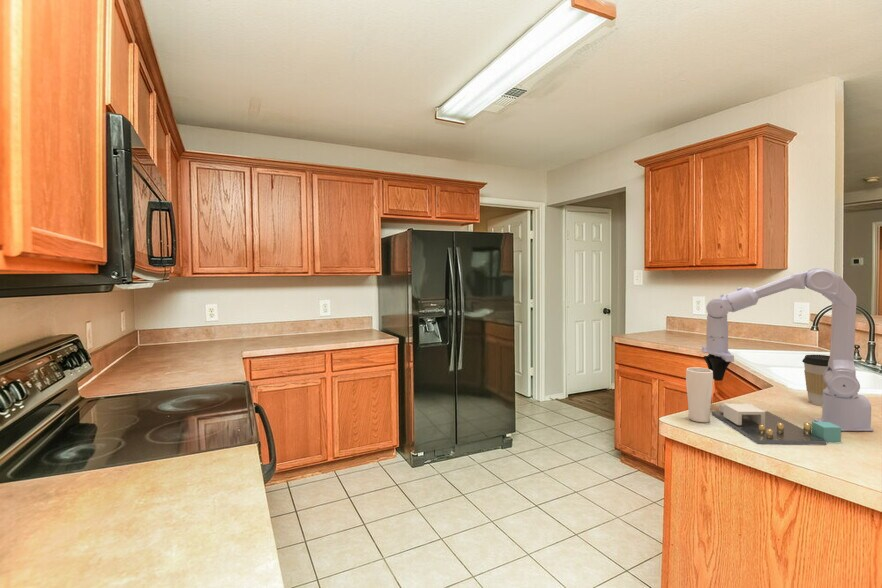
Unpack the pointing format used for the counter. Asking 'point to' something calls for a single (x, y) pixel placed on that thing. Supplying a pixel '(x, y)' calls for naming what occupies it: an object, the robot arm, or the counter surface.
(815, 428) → the block
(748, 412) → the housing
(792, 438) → the base plate
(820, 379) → the coffee cup
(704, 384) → the drinking glass
